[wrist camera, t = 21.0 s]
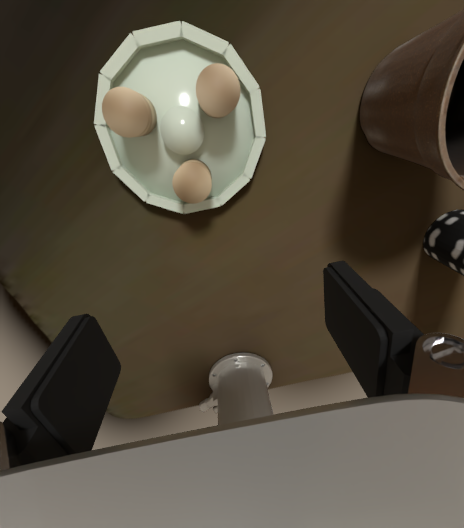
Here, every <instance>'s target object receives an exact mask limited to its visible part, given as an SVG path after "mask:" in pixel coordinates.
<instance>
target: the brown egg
mask: <svg viewBox="0 0 464 528" xmlns="http://www.w3.org/2000/svg"><path fill="white" fill-rule="evenodd" d="M172 184H173V189H174V192H175V193H176V195H177V196H178V197H179V198H180V199H181V200H183V201H184V202H187V203H192V204H195V203H199V202H202V201H203V200H205V199H206V198H207V197H208V195H209V194H210V191H211V188H212V177H211V172H210V169H209V167H208V166H207V165H206V164H205V163H204V162H202V161H200V160H197V159H190V160H187V161H185V162H184V163H182V164H181V166H180V167H179V168H178V169H177V170H176V172H175V174H174V176H173V181H172Z"/></svg>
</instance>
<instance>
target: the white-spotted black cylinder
mask: <svg viewBox="0 0 464 528" xmlns="http://www.w3.org/2000/svg"><path fill="white" fill-rule="evenodd" d="M423 244H424V250H425V252H426V253H427V254H428V255H429V256H430V257H432V258H434V259H435V260H437V261H439V262H441V263H442V264H444V265H446V266H448V267H449V268H451V269H453V270H455V271H456V272H458V273H460V274H462V275H463V276H464V210H454V211H451V212H448V213H446V214H444V215H442V216H441V217H439V218H438V219H437V220H436V221H435V222H434V223H433V224H432V225H431V226H430V228H429V229H428V231H427V232H426V235H425V238H424V243H423Z"/></svg>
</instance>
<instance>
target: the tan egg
mask: <svg viewBox="0 0 464 528" xmlns="http://www.w3.org/2000/svg"><path fill="white" fill-rule="evenodd" d="M102 113H103V117H104V120H105V122H106V123H107V125H108V126H109V128H110V129H111V130H112V131H113V132H115V133H116V134H118V135H120V136H122V137H127V138H131V137H140V136H146V135H148V134H149V133H151V132H152V131H153V129H154V128H155V126H156V122H157V114H156V110H155V108H154V106H153V104H152V103H151V101H150V100H149V99H148V98H147V97H145V96H144V95H142V94H140V93H138V92H136V91H134V90H132V89H130V88H127V87H115V88H113V89H111V90H109V91H108V92H107V93H106V95H105V96H104V98H103V102H102Z"/></svg>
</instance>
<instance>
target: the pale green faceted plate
mask: <svg viewBox="0 0 464 528" xmlns="http://www.w3.org/2000/svg"><path fill="white" fill-rule="evenodd" d="M133 35H134V36H133ZM133 35H132V34H131V33H130V34H129V35H128V37H127V38H126V39H125V40H124V42H123V43H122V44H121V46H120V47H119V48H118V49H117V51H116V52H115V53H114V54H113V56H112V57H111V58H110V59H109V61H108V62H107V63H106V64H105V66H104V67H103V68H102V69H101V71H100V72H101V73H102V74H103V75H101V74H99V79H98V89H97V99H96V109H95V118H94V124H97V125H96V126H95V129H96V131H97V134H98V137H99V139H100V142H101V144H102V147H103V149H104V152H105V155H106V157H107V160H108V162H109V165H110V167H111V170H114V171H113V173H114V174H115V175H116V176H117V177H119V178H120V179H121V180H122V181H123V182H124V183H125V184H126V185H127V186H128V187H129V188H130V189H131V190H132V191H133V192H134V193H135V194H137V195H138V196H139V197H140V198H141V199H142V200H143V201H144V202H145V201H146V203H148V204H152V205H155V206H158V207H162V208H165V209H168V210H172V211H175V212H178V213H182V214H183V212H184V213H185V214H187V213H192V212H197V211H201V210H206V209H211V208H215V207H220V204H221V205H223V204H224V203H226V202H227V201H228V200H229V199H230V198H231V197H232V196H233V195H234V194H236V193H237V192H238V191H239V190H240V189H241V188H242V187H243V186H245V185H246V184H247V183H248V182H249V181H250V179H249V178H251V179H252V176H253V173H254V170H255V167H256V165H257V162H258V159H259V156H260V153H261V151H262V148H263V145H264V142H265V140H266V139H265V138H263V137H266V132H265V124H264V116H263V107H262V99H261V91H260V89H258V88H259V85H258V84H257V82H256V81H255V79H254V78H253V76H252V75H251V73H250V72H249V70H248V69H247V67H246V66H245V64H244V63H243V61H242V60H241V59H240V57H239V56H238V54H237V53H236V51H235V50H234V48H233V47H232V45H231V44H230V45H229V46H228V43H229V42H227V41H225V40H223V39H221V38H218V37H216V36H214V35H212V34H210V33H208V32H205V31H203V30H201V29H199V28H197V27H195V26H192V25H190V24H188V23H186V22H184V21H182V26H181V22H180V21H176V22H172V23H168V24H163V25H159V26H155V27H150V28H146V29H142V30H137V31H133ZM215 63H220V64H224V65H226V66H228V67H229V68H231V69H232V70H233V71H234V73H235V74H236V76H237V78H238V80H239V83H240V98H239V101H238V104H237V106H236V107H235V109H234V110H233V111H232V112H231V113H229V114H228V115H227V116H225V117H222V118H212V117H210V116H208V115H207V114H206V113H205V112H204V111H203V110H202V109H201V107H200V105H199V102H198V100H197V96H196V82H197V79H198V76H199V74H200V73H201V71H202V70H203V69H204V68H205V67H207V66H209V65H211V64H215ZM115 87H127V88H130V89H132V90H134V91H136V92H138V93H140V94H142V95H144V96H145V97H147V98H148V99H149V100H150V101H151V103H152V104H153V106H154V108H155V110H156V114H157V122H156V126H155V128H154V129H153V131H152V132H151V133H149V134H148V135H146V136H140V137H131V138H127V137H122V136H120V135H118V134H116V133H115V132H113V131H112V130H111V129H110V128H109V126H108V125H107V123H106V122H105V120H104V117H103V113H102V102H103V98H104V96H105V95H106V93H107V92H108V91H109V90H111V89H113V88H115ZM257 89H258V90H257ZM190 159H197V160H200V161H202V162H204V163H205V164H206V165H207V166H208V167H209V169H210V172H211V177H212V188H211V191H210V194H209V195H208V197H207V198H206V199H205V200H203V201H202V202H199V203H195V204H192V203H187V202H184V201H183V200H181V199H180V198H179V197H178V196H177V195H176V193H175V192H174V189H173V184H172V181H173V176H174V174H175V172H176V170H177V169H178V168H179V167H180V166H181V164H182V163H184V162H185V161H187V160H190Z"/></svg>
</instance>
